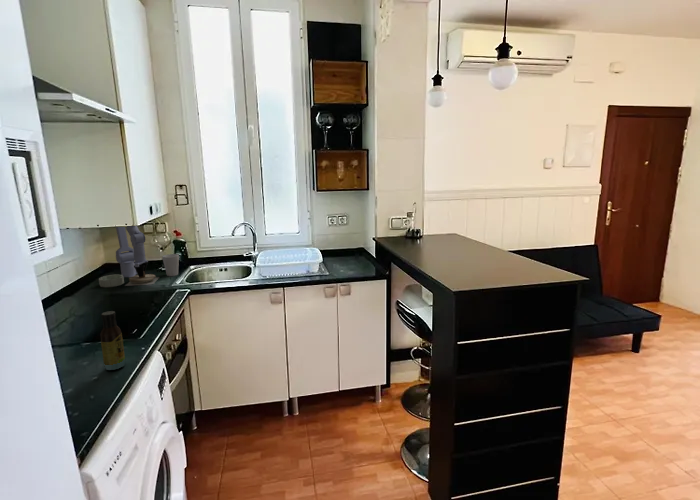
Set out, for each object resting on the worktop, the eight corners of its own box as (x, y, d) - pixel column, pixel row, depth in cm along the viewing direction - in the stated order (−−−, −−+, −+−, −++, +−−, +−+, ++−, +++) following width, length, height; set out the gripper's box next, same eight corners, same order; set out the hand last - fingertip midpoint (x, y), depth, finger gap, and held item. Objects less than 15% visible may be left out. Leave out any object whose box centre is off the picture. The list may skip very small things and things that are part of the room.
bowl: (105, 282, 230) (104, 275, 229) (127, 281, 232) (126, 274, 231) (96, 288, 218) (95, 280, 217) (119, 287, 221) (118, 279, 220)
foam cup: (174, 277, 239) (172, 257, 237) (161, 277, 241) (159, 256, 238) (183, 273, 248) (181, 254, 246) (170, 273, 250) (169, 253, 247)
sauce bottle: (124, 370, 130) (116, 315, 126) (103, 373, 128) (94, 317, 124) (127, 361, 136) (120, 308, 132) (107, 364, 134) (99, 311, 130)
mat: (133, 279, 236) (133, 278, 236) (159, 277, 239) (159, 277, 239) (124, 286, 222) (124, 285, 222) (152, 285, 225) (152, 284, 225)
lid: (133, 276, 235) (132, 269, 234) (158, 274, 238) (157, 268, 237) (125, 282, 222) (124, 275, 221) (151, 281, 225) (151, 274, 224)
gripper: (143, 256, 221) (145, 278, 224) (150, 250, 234) (152, 272, 237) (129, 256, 219) (132, 279, 222) (137, 251, 233) (140, 272, 236)
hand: (142, 275), depth 230 cm, fingers closed on lid, 3 cm apart
